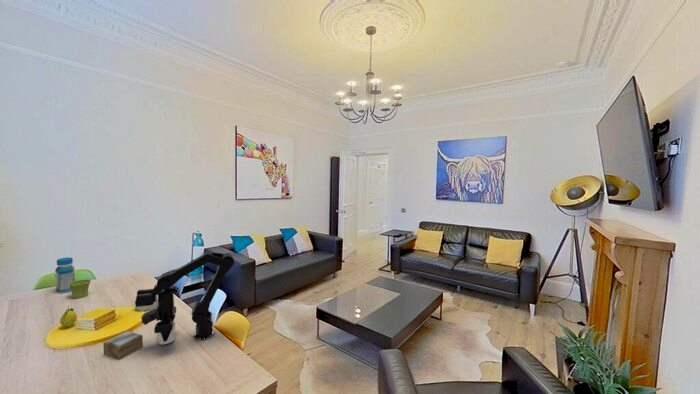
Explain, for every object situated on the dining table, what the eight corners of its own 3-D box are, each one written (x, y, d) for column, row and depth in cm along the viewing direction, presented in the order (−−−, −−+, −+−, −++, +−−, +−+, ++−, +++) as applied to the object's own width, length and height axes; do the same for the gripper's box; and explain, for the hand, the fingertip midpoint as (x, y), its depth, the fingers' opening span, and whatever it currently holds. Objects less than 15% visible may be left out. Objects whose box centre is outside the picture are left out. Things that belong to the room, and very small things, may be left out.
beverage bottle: (65, 293, 164) (64, 261, 163) (51, 293, 164) (50, 260, 163) (79, 288, 172) (78, 257, 171) (66, 287, 172) (65, 256, 171)
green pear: (65, 331, 126) (64, 310, 125) (55, 329, 127) (54, 308, 126) (82, 324, 132) (81, 303, 132) (72, 322, 134) (72, 302, 133)
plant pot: (93, 295, 163) (93, 281, 162) (71, 301, 155) (71, 286, 154) (88, 291, 168) (88, 278, 167) (66, 297, 160) (66, 282, 159)
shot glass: (166, 346, 116) (166, 330, 116) (152, 344, 118) (152, 328, 117) (179, 337, 123) (179, 322, 122) (166, 335, 124) (166, 320, 124)
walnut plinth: (142, 346, 117) (142, 334, 117) (119, 359, 108) (119, 346, 108) (127, 342, 119) (127, 330, 119) (103, 354, 111) (103, 341, 110)
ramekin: (130, 309, 148) (129, 299, 148) (151, 301, 159) (151, 292, 158) (143, 313, 144) (143, 304, 144) (164, 305, 155) (164, 296, 154)
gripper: (147, 297, 124) (147, 330, 125) (138, 316, 107) (139, 354, 108) (176, 293, 129) (176, 325, 130) (172, 310, 112) (172, 347, 113)
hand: (166, 337), depth 120 cm, fingers closed on shot glass, 6 cm apart
